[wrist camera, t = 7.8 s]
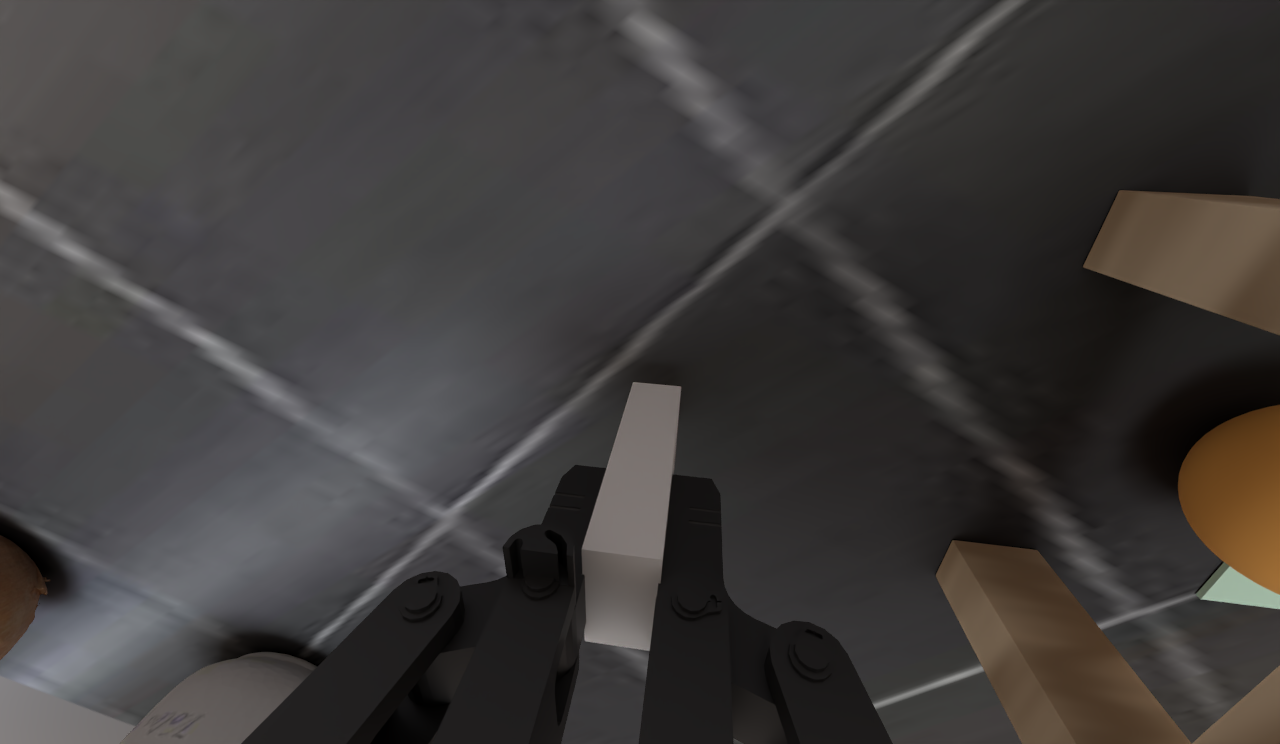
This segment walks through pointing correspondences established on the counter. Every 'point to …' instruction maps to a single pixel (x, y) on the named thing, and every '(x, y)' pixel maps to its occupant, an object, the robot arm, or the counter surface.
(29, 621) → the onion
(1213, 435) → the ball
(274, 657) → the teacup
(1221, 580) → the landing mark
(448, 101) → the counter surface
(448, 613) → the robot arm
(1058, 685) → the bridge
